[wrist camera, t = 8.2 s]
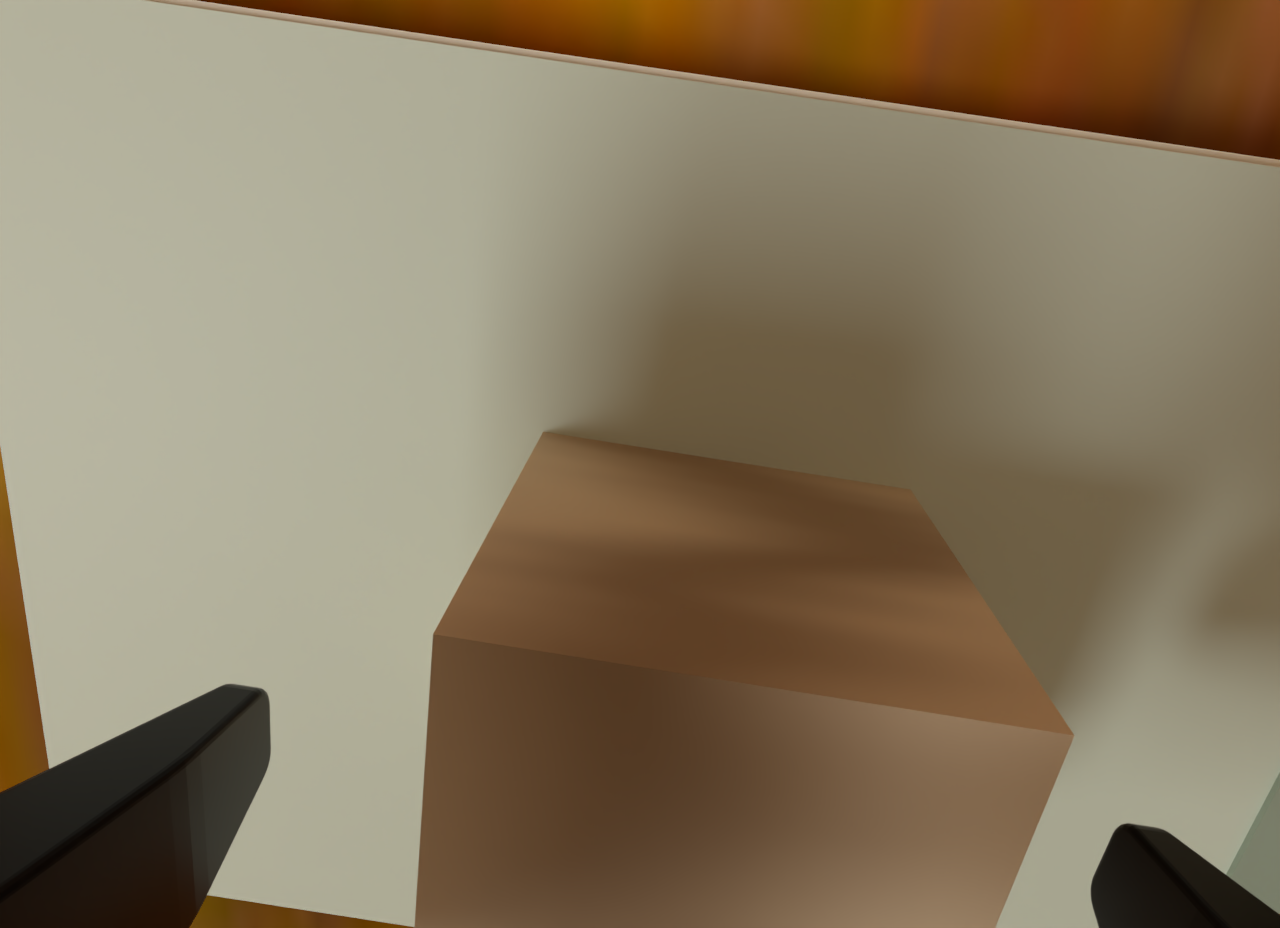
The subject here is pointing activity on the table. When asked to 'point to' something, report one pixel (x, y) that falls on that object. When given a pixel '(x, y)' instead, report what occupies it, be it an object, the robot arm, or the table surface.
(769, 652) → the maple block
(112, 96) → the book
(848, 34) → the table surface
